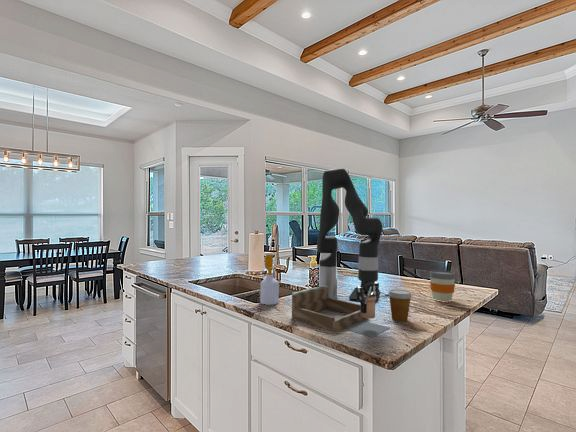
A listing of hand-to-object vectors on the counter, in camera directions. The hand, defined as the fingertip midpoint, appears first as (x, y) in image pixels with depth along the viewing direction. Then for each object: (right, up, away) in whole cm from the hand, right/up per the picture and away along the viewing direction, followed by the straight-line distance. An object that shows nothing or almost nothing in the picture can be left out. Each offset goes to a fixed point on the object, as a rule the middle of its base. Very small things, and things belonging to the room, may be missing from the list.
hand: (367, 311), depth 125 cm
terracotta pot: (0, -2, 0) cm, 2 cm away
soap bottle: (-41, -7, +36) cm, 54 cm away
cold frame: (-13, -7, +12) cm, 19 cm away
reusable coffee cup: (+51, -8, +45) cm, 69 cm away
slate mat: (0, -7, 0) cm, 7 cm away
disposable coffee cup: (+17, -7, +12) cm, 22 cm away
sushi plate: (+19, -8, +51) cm, 55 cm away
